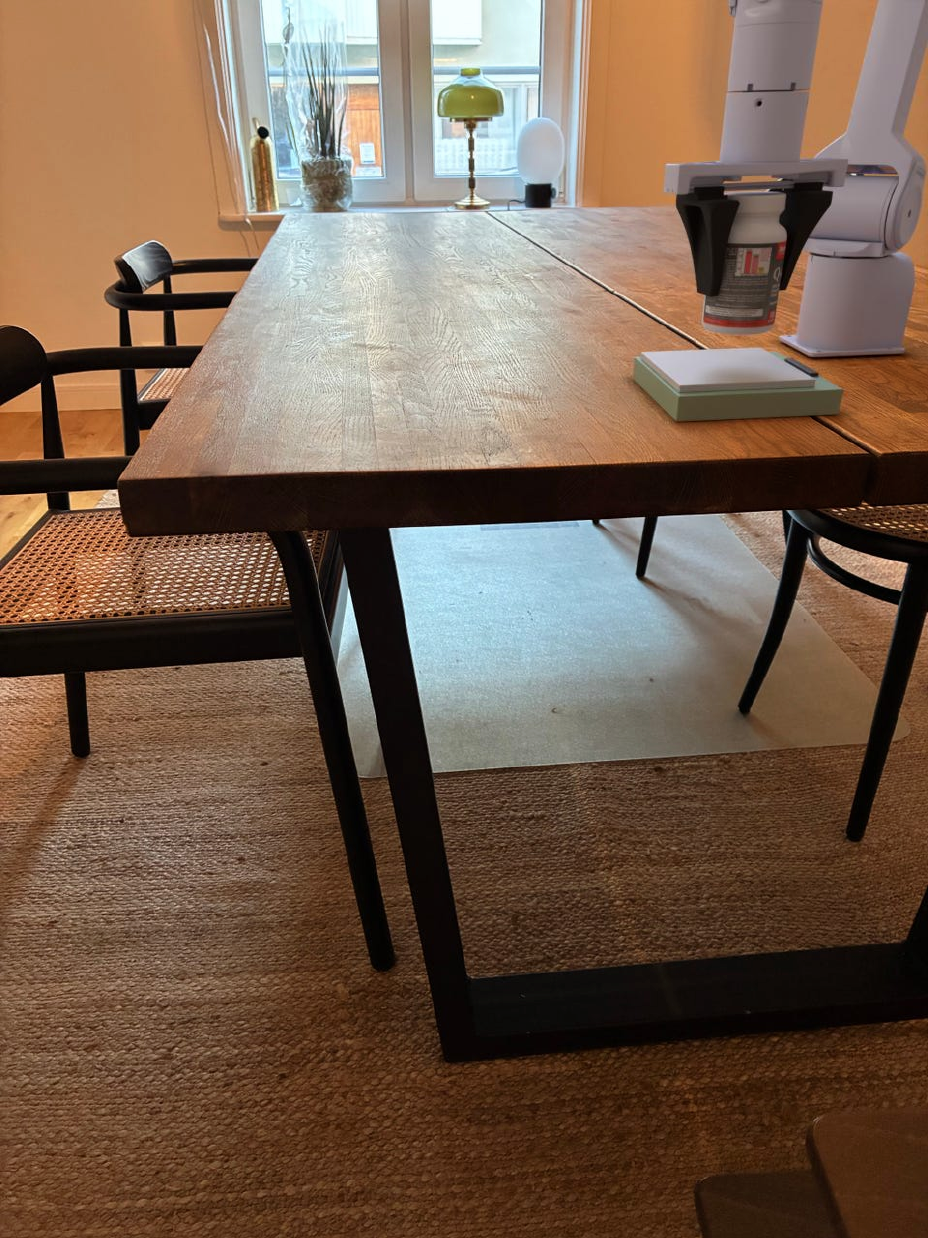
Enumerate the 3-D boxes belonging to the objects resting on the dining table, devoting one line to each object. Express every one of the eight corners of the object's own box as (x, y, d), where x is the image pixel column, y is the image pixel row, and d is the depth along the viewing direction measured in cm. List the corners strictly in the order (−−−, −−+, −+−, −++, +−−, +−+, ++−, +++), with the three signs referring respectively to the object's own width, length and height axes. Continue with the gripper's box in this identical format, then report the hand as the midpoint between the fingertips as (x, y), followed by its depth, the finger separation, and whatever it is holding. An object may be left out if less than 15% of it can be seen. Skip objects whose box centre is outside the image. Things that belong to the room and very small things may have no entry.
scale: (773, 373, 81) (777, 344, 80) (838, 414, 69) (845, 381, 68) (632, 379, 80) (634, 349, 79) (676, 421, 69) (679, 388, 67)
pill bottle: (783, 335, 70) (805, 195, 65) (711, 337, 69) (727, 197, 65) (760, 321, 75) (778, 189, 70) (692, 322, 74) (706, 191, 70)
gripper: (816, 92, 69) (788, 277, 76) (650, 94, 65) (636, 289, 72) (880, 89, 63) (844, 290, 70) (702, 91, 59) (681, 304, 66)
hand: (742, 291), depth 71 cm, fingers closed on pill bottle, 5 cm apart
